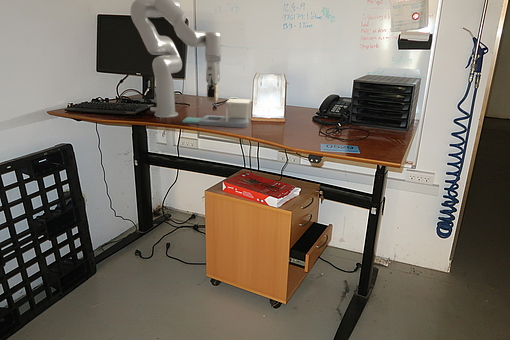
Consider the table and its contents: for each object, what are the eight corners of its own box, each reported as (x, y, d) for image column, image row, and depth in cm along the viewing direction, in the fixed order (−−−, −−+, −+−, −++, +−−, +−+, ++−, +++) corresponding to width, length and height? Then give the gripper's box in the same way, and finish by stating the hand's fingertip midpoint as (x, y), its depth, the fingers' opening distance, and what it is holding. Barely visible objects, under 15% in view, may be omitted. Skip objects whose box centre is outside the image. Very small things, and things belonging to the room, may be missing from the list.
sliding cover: (225, 121, 190) (225, 102, 187) (230, 117, 200) (230, 98, 196) (247, 122, 189) (247, 103, 185) (250, 118, 198) (251, 99, 195)
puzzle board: (198, 124, 191) (198, 121, 190) (205, 118, 204) (205, 114, 203) (245, 127, 188) (245, 123, 187) (250, 121, 201) (250, 117, 200)
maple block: (206, 101, 191) (207, 85, 188) (209, 99, 195) (209, 83, 192) (215, 101, 191) (215, 85, 188) (217, 100, 195) (218, 84, 192)
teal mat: (182, 122, 194) (181, 121, 194) (187, 118, 203) (187, 117, 202) (199, 123, 193) (199, 122, 193) (203, 119, 202) (203, 118, 201)
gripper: (216, 60, 177) (215, 100, 184) (224, 57, 193) (223, 93, 199) (200, 59, 178) (200, 98, 185) (209, 56, 194) (209, 92, 200)
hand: (212, 95), depth 192 cm, fingers closed on maple block, 4 cm apart
